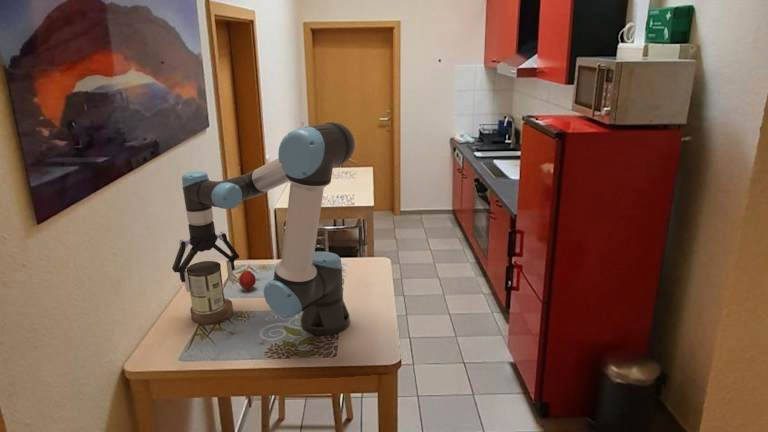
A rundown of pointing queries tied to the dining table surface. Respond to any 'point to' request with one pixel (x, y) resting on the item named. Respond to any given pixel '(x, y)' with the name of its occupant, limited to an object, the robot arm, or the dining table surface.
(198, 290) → the coffee can
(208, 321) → the pedestal
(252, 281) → the red bumpy fruit
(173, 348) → the dining table surface
